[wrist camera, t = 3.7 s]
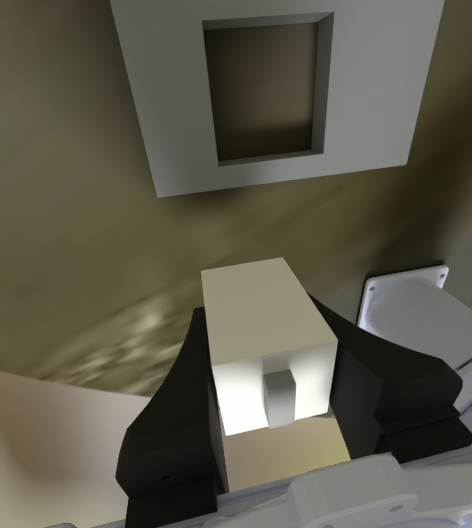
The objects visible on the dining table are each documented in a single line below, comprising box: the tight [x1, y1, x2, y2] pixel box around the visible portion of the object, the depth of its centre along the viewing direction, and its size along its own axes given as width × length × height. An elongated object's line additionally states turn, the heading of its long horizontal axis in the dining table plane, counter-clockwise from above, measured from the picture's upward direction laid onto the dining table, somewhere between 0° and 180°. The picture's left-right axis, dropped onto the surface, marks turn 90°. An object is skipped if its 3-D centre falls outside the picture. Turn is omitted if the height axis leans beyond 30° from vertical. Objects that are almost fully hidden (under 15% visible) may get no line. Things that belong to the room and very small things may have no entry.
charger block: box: [201, 257, 338, 436], centre depth 12 cm, size 4×4×7 cm
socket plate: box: [110, 0, 445, 198], centre depth 13 cm, size 16×16×2 cm
